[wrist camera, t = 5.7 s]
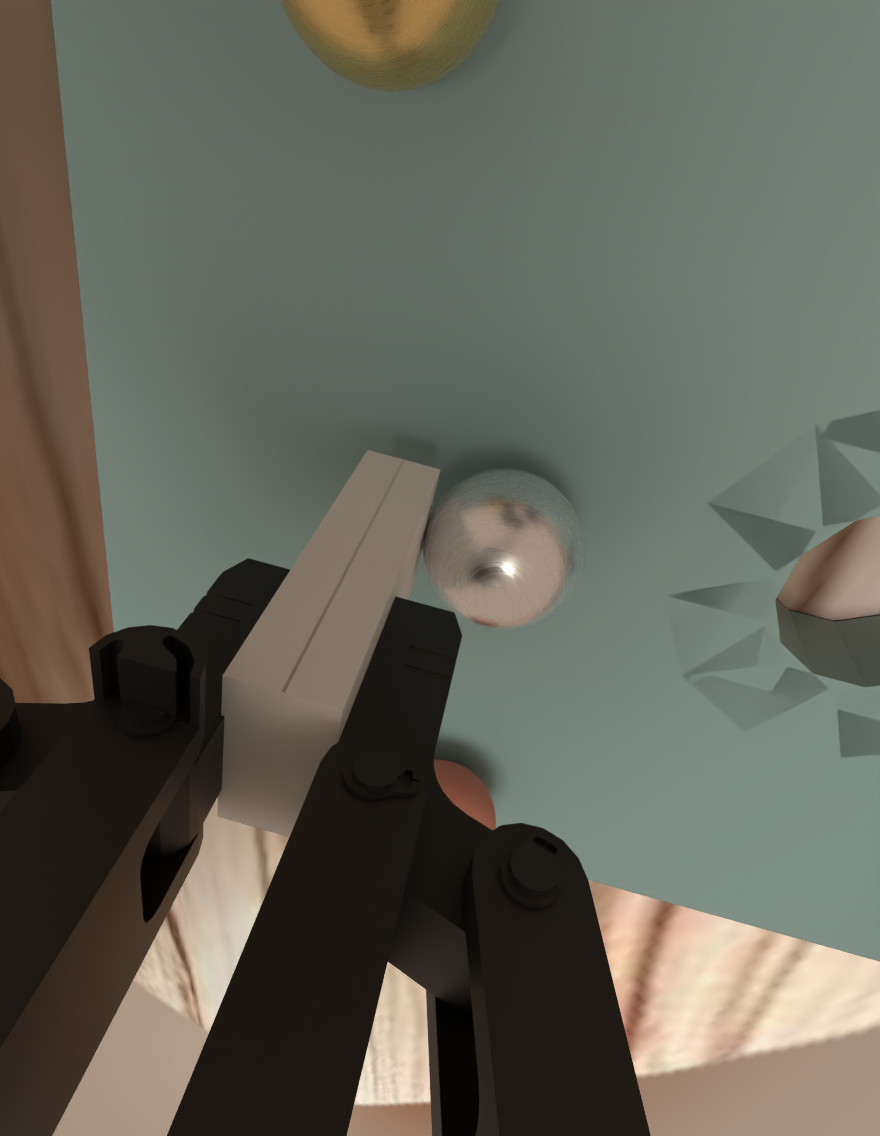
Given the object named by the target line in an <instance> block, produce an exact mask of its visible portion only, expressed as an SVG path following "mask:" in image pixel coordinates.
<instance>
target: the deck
mask: <svg viewBox="0 0 880 1136" xmlns="http://www.w3.org/2000/svg"><path fill="white" fill-rule="evenodd" d="M51 9H52V19H53V29H54V39H55V49H56V59H57V69H58V79H59V89H60V99H61V109H62V119H63V129H64V139H65V149H66V159H67V169H68V179H69V189H70V199H71V209H72V219H73V229H74V239H75V249H76V259H77V269H78V278H79V288H80V298H81V308H82V318H83V328H84V338H85V348H86V358H87V368H88V378H89V388H90V398H91V408H92V418H93V428H94V438H95V448H96V458H97V468H98V478H99V488H100V498H101V508H102V518H103V528H104V538H105V548H106V558H107V568H108V578H109V588H110V598H111V608H112V618H113V628H114V632H117V631H119V630H122V629H125V628H127V627H137V626H146V625H155V626H162V627H169V628H174V629H176V630H177V629H178V628H179V627H180V626H181V624H182V623H183V622H184V620H185V619H186V618H187V617H188V615H189V614H190V613H193V611H194V608H195V606H196V605H197V604H198V603H199V601H200V600H201V599H202V598H203V596H206V594H207V591H208V590H209V589H210V587H211V586H212V585H213V584H214V582H215V581H216V580H217V578H218V577H219V576H220V575H221V573H222V572H224V571H225V570H227V569H229V568H231V567H233V566H235V565H236V564H238V563H240V562H242V561H244V560H246V559H247V558H250V559H253V560H257V561H261V562H264V563H268V564H272V565H275V566H279V567H283V568H286V569H290V570H291V568H292V567H293V565H294V564H295V562H296V561H297V559H298V557H299V556H300V554H301V553H302V551H303V550H304V548H305V547H306V545H307V543H308V542H309V540H310V539H311V537H312V536H313V534H314V533H315V531H316V529H317V528H318V526H319V525H320V523H321V522H322V520H323V519H324V517H325V515H326V514H327V512H328V511H329V509H330V508H331V506H332V505H333V503H334V501H335V500H336V498H337V497H338V495H339V494H340V492H341V491H342V489H343V487H344V486H345V484H346V483H347V481H348V480H349V478H350V477H351V475H352V473H353V472H354V470H355V469H356V467H357V466H358V464H359V463H360V461H361V459H362V458H363V456H364V455H365V453H366V452H367V450H370V451H373V452H377V453H381V454H385V455H388V456H392V457H396V458H400V459H403V460H407V461H411V462H415V463H418V464H422V465H426V466H430V467H433V468H437V469H441V470H440V474H439V479H438V483H437V487H436V492H435V496H434V501H433V505H432V509H431V514H432V512H433V510H434V508H435V506H436V505H437V504H438V502H439V501H440V499H441V498H442V497H443V496H444V495H445V494H446V493H447V492H448V491H449V490H450V489H451V488H452V487H453V486H455V485H456V484H457V483H459V482H461V481H462V480H464V479H466V478H468V477H470V476H472V475H474V474H477V473H479V472H483V471H487V470H493V469H515V470H521V471H525V472H529V473H531V474H534V475H537V476H539V477H541V478H543V479H545V480H546V481H548V482H549V483H551V484H552V485H554V486H555V487H556V488H557V489H558V490H559V491H560V492H561V493H562V494H563V495H564V496H565V497H566V498H567V499H568V500H569V502H570V503H571V505H572V506H573V508H574V510H575V512H576V514H577V516H578V518H579V520H580V523H581V526H582V530H583V535H584V542H585V557H584V564H583V569H582V572H581V575H580V578H579V581H578V583H577V585H576V587H575V589H574V591H573V592H572V594H571V595H570V596H569V598H568V599H567V600H566V602H565V603H564V604H563V605H562V606H561V607H560V608H559V609H558V610H556V611H555V612H554V613H553V614H551V615H550V616H549V617H547V618H545V619H544V620H542V621H540V622H538V623H536V624H533V625H530V626H527V627H524V628H519V629H514V630H494V629H488V628H484V627H480V626H477V625H474V624H472V623H470V622H468V621H465V620H464V619H462V618H461V617H459V616H458V615H456V614H455V615H456V618H457V621H458V624H459V627H460V630H461V633H462V639H461V643H460V647H459V652H458V656H457V660H456V664H455V669H454V673H453V677H452V681H451V686H450V690H449V694H448V698H447V702H446V707H445V711H444V715H443V719H442V724H441V728H440V732H439V736H438V741H437V745H436V749H435V755H434V759H441V760H448V761H452V762H455V763H458V764H460V765H462V766H464V767H466V768H468V769H469V770H471V771H472V772H473V773H474V774H475V775H476V776H477V777H478V778H479V779H480V780H481V781H482V782H483V784H484V785H485V787H486V788H487V790H488V792H489V794H490V796H491V798H492V801H493V804H494V808H495V815H496V828H497V827H499V826H501V825H506V824H515V823H525V824H529V825H533V826H537V827H541V828H544V829H545V830H547V831H549V832H550V833H552V834H554V835H555V836H557V837H559V838H560V839H562V840H563V841H564V842H565V843H566V844H567V845H568V847H569V848H570V849H571V850H572V851H573V852H574V853H575V854H576V856H577V857H578V858H579V860H580V862H581V865H582V867H583V869H584V871H585V874H586V876H587V878H588V880H590V881H594V882H597V883H601V884H605V885H608V886H612V887H615V888H619V889H622V890H626V891H630V892H633V893H637V894H640V895H644V896H648V897H651V898H655V899H658V900H662V901H665V902H669V903H673V904H676V905H680V906H683V907H687V908H690V909H694V910H698V911H701V912H705V913H708V914H712V915H715V916H719V917H723V918H726V919H730V920H733V921H737V922H741V923H744V924H748V925H751V926H755V927H758V928H762V929H766V930H769V931H773V932H776V933H780V934H783V935H787V936H791V937H794V938H798V939H801V940H805V941H808V942H812V943H816V944H819V945H823V946H826V947H830V948H834V949H837V950H841V951H844V952H848V953H851V954H855V955H859V956H862V957H866V958H869V959H873V960H876V961H880V615H879V616H872V617H864V618H857V619H850V620H843V621H836V622H833V621H829V620H826V619H822V618H818V617H814V616H810V615H806V614H802V613H799V612H795V611H791V610H788V609H787V608H786V607H785V606H784V605H783V604H782V603H781V602H780V601H779V600H778V599H777V596H778V595H779V593H780V591H781V589H782V588H783V586H784V584H785V583H786V581H787V579H788V578H789V576H790V574H791V572H792V571H793V569H794V567H795V566H796V564H797V562H798V561H799V559H800V557H801V555H803V554H804V553H806V552H807V551H809V550H810V549H812V548H814V547H815V546H817V545H818V544H820V543H821V542H823V541H825V540H826V539H828V538H829V537H831V536H832V535H834V534H836V533H837V532H839V531H840V530H842V529H844V528H845V527H847V526H848V525H850V524H851V523H853V522H855V521H856V520H861V519H866V518H872V517H877V516H880V0H500V1H499V4H498V7H497V10H496V12H495V15H494V17H493V19H492V21H491V23H490V25H489V27H488V29H487V31H486V32H485V34H484V36H483V37H482V39H481V40H480V42H479V44H478V45H477V46H476V47H475V49H474V50H473V51H472V52H471V54H470V55H469V56H468V57H467V58H466V59H465V60H464V61H463V62H462V63H461V64H460V65H459V66H458V67H457V68H456V69H454V70H453V71H451V72H450V73H449V74H447V75H446V76H445V77H443V78H441V79H439V80H437V81H435V82H433V83H431V84H429V85H426V86H423V87H420V88H417V89H413V90H408V91H402V92H384V91H378V90H372V89H369V88H366V87H363V86H359V85H357V84H354V83H352V82H350V81H348V80H346V79H344V78H342V77H341V76H339V75H338V74H336V73H335V72H333V71H332V70H330V69H329V68H328V67H327V66H326V65H324V64H323V63H322V62H321V61H320V60H319V59H318V58H317V57H316V56H315V55H314V54H313V53H312V52H311V50H310V49H309V48H308V47H307V46H306V45H305V44H304V42H303V41H302V40H301V38H300V37H299V35H298V34H297V32H296V31H295V30H294V28H293V26H292V25H291V23H290V21H289V19H288V17H287V15H286V13H285V12H284V9H283V7H282V5H281V2H280V0H51ZM431 514H430V516H431ZM409 600H411V601H414V602H418V603H422V604H425V605H429V606H433V607H436V608H440V609H444V610H447V611H451V610H450V609H449V608H448V607H447V606H446V605H445V604H444V603H443V602H442V601H441V600H440V598H439V597H438V595H437V594H436V592H435V591H434V589H433V587H432V586H431V583H430V581H429V579H428V576H427V573H426V569H425V565H424V558H423V549H422V553H421V558H420V562H419V567H418V571H417V576H416V580H415V583H414V586H413V589H412V591H411V594H410V597H409ZM451 612H452V611H451Z"/></svg>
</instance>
